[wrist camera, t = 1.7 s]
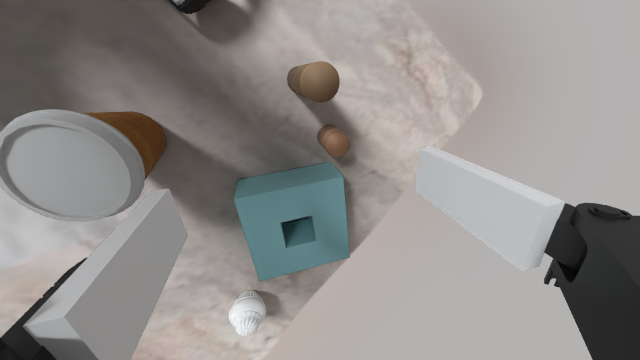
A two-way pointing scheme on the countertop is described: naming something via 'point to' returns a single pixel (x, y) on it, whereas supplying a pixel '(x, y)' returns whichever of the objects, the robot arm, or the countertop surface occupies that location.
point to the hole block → (288, 204)
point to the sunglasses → (189, 5)
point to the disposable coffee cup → (78, 161)
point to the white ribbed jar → (247, 312)
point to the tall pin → (314, 81)
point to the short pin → (333, 141)
